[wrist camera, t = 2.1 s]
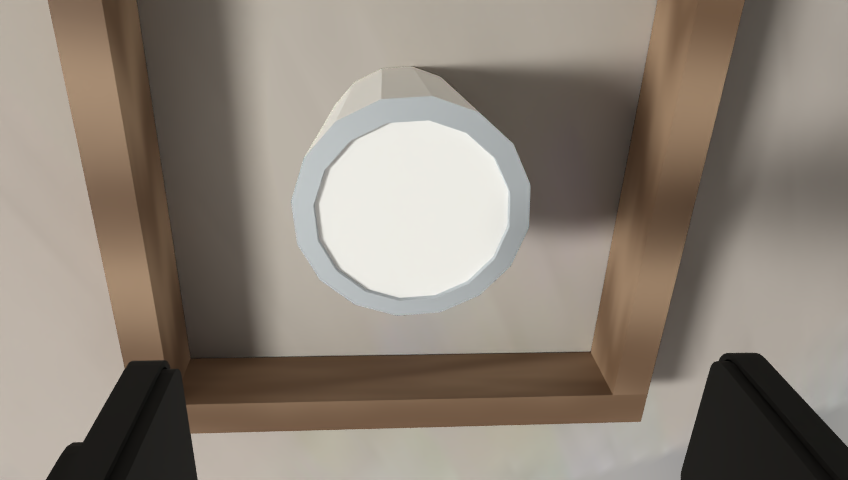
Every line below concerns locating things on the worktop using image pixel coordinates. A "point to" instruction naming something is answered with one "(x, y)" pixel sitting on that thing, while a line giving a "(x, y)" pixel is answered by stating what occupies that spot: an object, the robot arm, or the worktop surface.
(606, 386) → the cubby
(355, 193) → the white cup
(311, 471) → the worktop surface
